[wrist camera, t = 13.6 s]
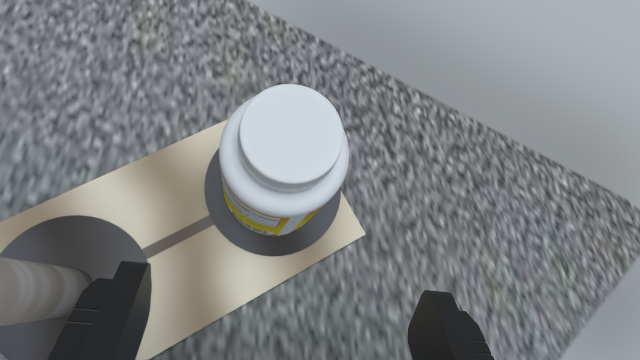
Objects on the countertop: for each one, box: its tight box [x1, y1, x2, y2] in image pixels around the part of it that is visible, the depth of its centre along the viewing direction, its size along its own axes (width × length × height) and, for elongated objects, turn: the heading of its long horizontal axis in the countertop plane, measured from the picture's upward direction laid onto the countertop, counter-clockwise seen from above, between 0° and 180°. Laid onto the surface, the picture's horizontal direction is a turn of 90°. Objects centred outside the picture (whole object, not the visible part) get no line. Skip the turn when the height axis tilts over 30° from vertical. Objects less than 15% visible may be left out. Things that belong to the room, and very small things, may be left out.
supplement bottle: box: [219, 84, 349, 236], centre depth 22 cm, size 6×6×10 cm
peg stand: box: [0, 119, 365, 360], centre depth 21 cm, size 20×10×10 cm, turn 120°
